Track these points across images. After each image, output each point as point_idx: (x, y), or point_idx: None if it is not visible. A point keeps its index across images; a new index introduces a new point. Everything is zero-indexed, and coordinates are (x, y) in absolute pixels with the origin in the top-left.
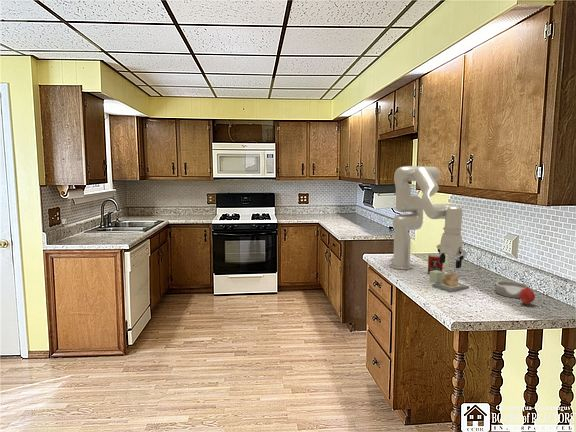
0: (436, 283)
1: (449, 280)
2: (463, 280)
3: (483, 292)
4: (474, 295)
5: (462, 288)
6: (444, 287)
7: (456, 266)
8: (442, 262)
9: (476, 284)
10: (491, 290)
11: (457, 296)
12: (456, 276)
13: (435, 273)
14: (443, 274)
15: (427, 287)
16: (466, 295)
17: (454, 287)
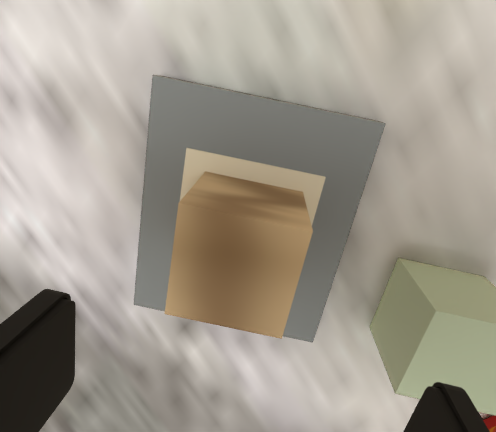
0: (360, 173)
1: (213, 191)
2: (273, 428)
3: (27, 279)
4: (5, 163)
5: (142, 233)
6: (235, 108)
7: (28, 306)
8: (416, 423)
9: (167, 403)
10: None
11: (49, 11)
12: (169, 282)
13: (455, 312)
14: (306, 232)
15: (398, 45)
16: (33, 111)
17: (177, 183)
